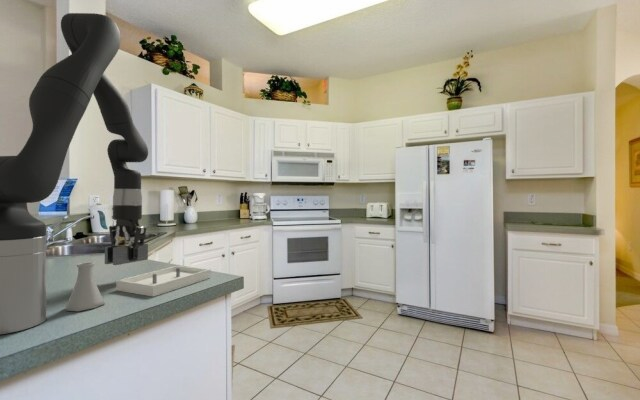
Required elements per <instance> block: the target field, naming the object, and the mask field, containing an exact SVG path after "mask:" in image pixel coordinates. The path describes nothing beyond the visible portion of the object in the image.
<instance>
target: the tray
mask: <svg viewBox="0 0 640 400" xmlns="http://www.w3.org/2000/svg"><path fill="white" fill-rule="evenodd" d="M208 278H209V279H211V268H201V267H193V266H192V267H191V266H183V265H174V266H169V267H166V268H162V269H158V270H154V271H150V272H146V273H141V274H138V275H134V276H129V277H125V278H120V279H117V280H115V281H116V283H115V285H116V291H118V292H124V293H125V292H126V293H131V294H137V295H141V296H147V297H156V296H159V295H163V294H165V293H168V292H172V291H174V290H179V289H181V288H184V287H187V286H190V285H192V284H193V285H194V284H196V283H200V282H202V281H206V280H208Z"/></svg>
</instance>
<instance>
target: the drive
mask: <svg viewBox="0 0 640 400" xmlns="http://www.w3.org/2000/svg"><path fill="white" fill-rule="evenodd" d="M129 249H130V247H129V243H127V244H125V245H117V246H115V245H112V246H111V245H110V246H108V245H107V246H105V247H104V265H110V264H111V265H113V266H121V265H125V264H130V263H136V262H142V261H146V260H149V259H148V258H149V256H148V255H149V244H148V243H144V245H143V246H139V247H138V258H137V260H134V261H130V260H129Z"/></svg>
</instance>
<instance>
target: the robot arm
mask: <svg viewBox="0 0 640 400" xmlns="http://www.w3.org/2000/svg"><path fill="white" fill-rule="evenodd" d="M60 29H61V32H62V37H63V38H64V41H65V43H66V45H67V47H68V49H69V51H70V53H71V54H70V55H68V56H66V57H65V58H63V59H61V60H60V61H58V62H56V63H55V64H54V65H52V66H51V67H49V68H48V69H47V70H46V71H44V72H43V73H42V74H41V76H40V77H39V79H38V80H37V83H36V84H35V86H34V87H33V90H32V91H31V93H30V96H29V99H28V107H29V108H28V109H29V112H30V116H31V118H30V119H31V121H32V122H31V123H32V130H31V133H30V135H29V137H28V138H27V141H26V142H25V144H24V146H23V147H22V149H21V151H20V152H19V153H18V154H17V155H0V335H6V334H11V333H15V332H19V331H24V330H27V329H30V328H32V327H35V326H38V325H40V324H43V323H44V322H45V321H47V311H48V309H47V227H46V223H45V222H44V221H42V220H41V219H38V218H36V217H35V216H33V215H32V214H31V213H30V211H29V209H28V203H33V204H34V203H39V202H42V201H44V200H46V199H48V198H49V197H50V195H51V194H53V193H54V191H55V189H56V187H57V185H58V182H59V180H60V176H61V172H62V169H63V166H64V163H65V160H66V157H67V153H68V150H69V148H70V145H71V143H72V140H73V138H74V136H75V133H76V130H77V128H78V126H79V124H80V122H81V120H82V118H83V116H84V114H85V113H86V110H87V108H88V107H89V104H90V102H91V100H92V96H94V98H95V100H96V103H97V106H98V108H99V111H100V113H101V117H102V120H103V123H104V125H105V128H106V130H107V131H108V133H110V134H115V135H118V136H120V137H122V139H120V138H117V139H112V140H111V141H110V142H109V144H108V146H107V149H106V151H107V152H106V153H107V157H108V159H109V162H110V166H111V169H112V173H113V180H114V181H113V182H114V183H113V185H114V186H113V195H112V220H113V221H116V223H115V225H109V227H108V229H109V238H110V242H111V244H110V245H112V246H117V245H125V244H126V243H127V244H129V247H130V249H129V260H130V261H134V260H137V258H138V247H139V246H143V245H144V244H145V239H146V232H147V226H142V225H140V223H139V221H140V220H142V218H143V195H142V194H143V193H142V174H141V172H139V171H138V170H134V169H130V168H129V167H128V165H127V163H143V162H145V161H146V160H147V158H148V156H149V148H148V145H147V143H146V141H145V140H144V138H143V137H142V135H141V133H140V132H139V130H138V129H137V127H136V125H135V124H134V122H133V117H132V114H131V111H130V108H129V105H128V102H127V101H126V99H125V97H124V96H123V94H122V93H121V92H120V90H118V88H117V87H116V86H115V85H114V84H113V82H112V81H111V80H110V79H109V78H108V77H107V75H106V73H105V72H106V70H107V69H108V67H109V65H110V64H111V62H112V61H113V59H114V58H115V56H116V55H117V53H118V52H119V50H120V46H121V39H122V36H121V31H120V29H119V27H118V24H117V23H116V21H115V20H113V18H111V17H109V16H108V15H105V14H101V13H95V12H93V13H91V12H90V13H89V12H88V13H87V12H80V13H78V12H70V13H66V14H64V15H63V16H62V18H61V20H60Z"/></svg>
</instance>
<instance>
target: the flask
mask: <svg viewBox="0 0 640 400" xmlns="http://www.w3.org/2000/svg"><path fill="white" fill-rule="evenodd" d="M94 266H95V263H94V261H93V262H90V261H89V262H81V263H77V264H76V267H77V268H78V269H77V270H78V271H77V272H78V273H77V278H76V281H75V283H74V286H73V289H72V292H71V294H70V296H69V299H68V301H67V303H66V305H65V310H66V311H67V312H69V311H70V312H81V311H86V310H91V309H95V308H98V307H100V306H102V305H106V303H105V300H104V298H103V296H102V293H101V292H100V290H99V287H98V285H97V283H96V281H95V275H94V269H93V267H94Z"/></svg>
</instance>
